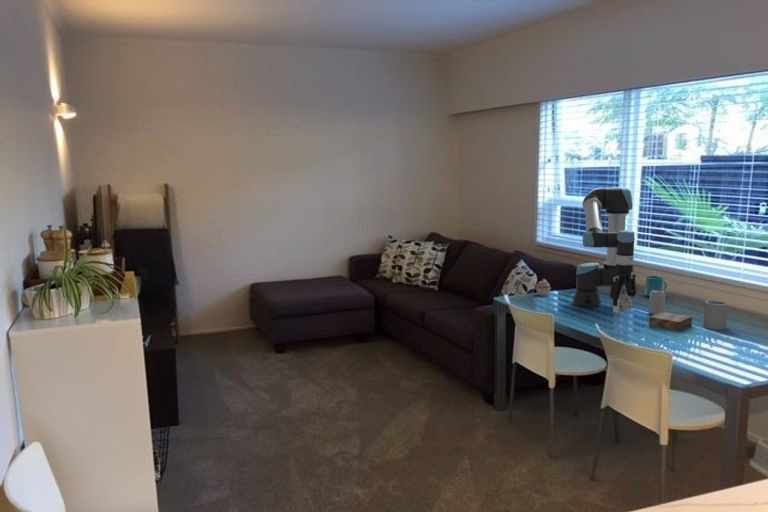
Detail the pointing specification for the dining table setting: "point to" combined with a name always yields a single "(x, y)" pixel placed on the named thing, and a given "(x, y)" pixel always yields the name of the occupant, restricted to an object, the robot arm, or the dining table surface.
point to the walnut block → (670, 321)
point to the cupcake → (543, 288)
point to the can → (656, 302)
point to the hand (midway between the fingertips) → (622, 310)
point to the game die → (624, 301)
